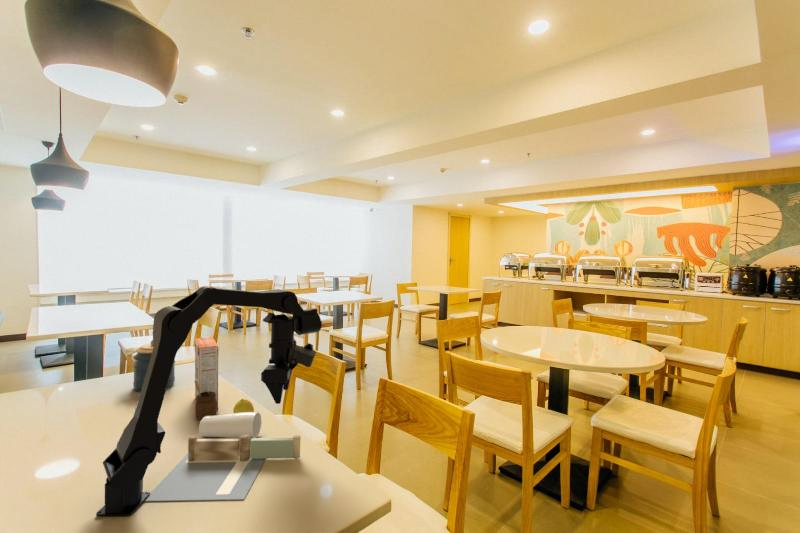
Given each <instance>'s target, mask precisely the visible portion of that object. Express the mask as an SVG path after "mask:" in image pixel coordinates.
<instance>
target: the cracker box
mask: <svg viewBox="0 0 800 533" xmlns="http://www.w3.org/2000/svg"><path fill="white" fill-rule="evenodd" d="M194 373H195V374H194V378H195V379H194V382H195V381H196V382H198V385H199V388H200V393H202V392H208V391H212V392H215V394H216V397H215V398H216V400H217V410H218V409H219V345H218V343H217V341H216V340H215V338H214V337H212V336H211V337H198V338H195V339H194ZM211 380H212V381H213V382H212V381H211ZM215 380H216V381H215ZM210 381H211V382H210ZM216 382H217V383H216ZM210 383H211V384H210ZM208 384H209V385H208ZM213 384H214V385H215V386H214V385H213ZM216 384H217V385H216ZM211 385H212V386H211ZM208 387H209V388H208ZM194 389H195V390H194V392H195V393H194V396H195V400H196V401H197V395H198V394H199V393H198V391H197V389H196V385H195V384H194ZM213 390H214V391H213ZM196 401H195V402H196Z"/></svg>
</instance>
